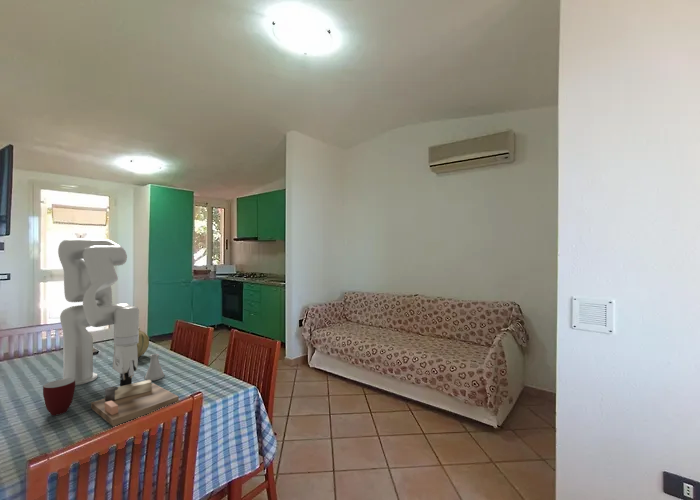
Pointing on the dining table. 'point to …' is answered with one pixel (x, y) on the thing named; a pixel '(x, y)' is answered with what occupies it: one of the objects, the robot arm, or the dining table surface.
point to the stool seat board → (135, 405)
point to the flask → (154, 369)
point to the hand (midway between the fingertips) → (125, 389)
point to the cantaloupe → (142, 343)
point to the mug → (59, 395)
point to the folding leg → (127, 390)
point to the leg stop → (111, 407)
